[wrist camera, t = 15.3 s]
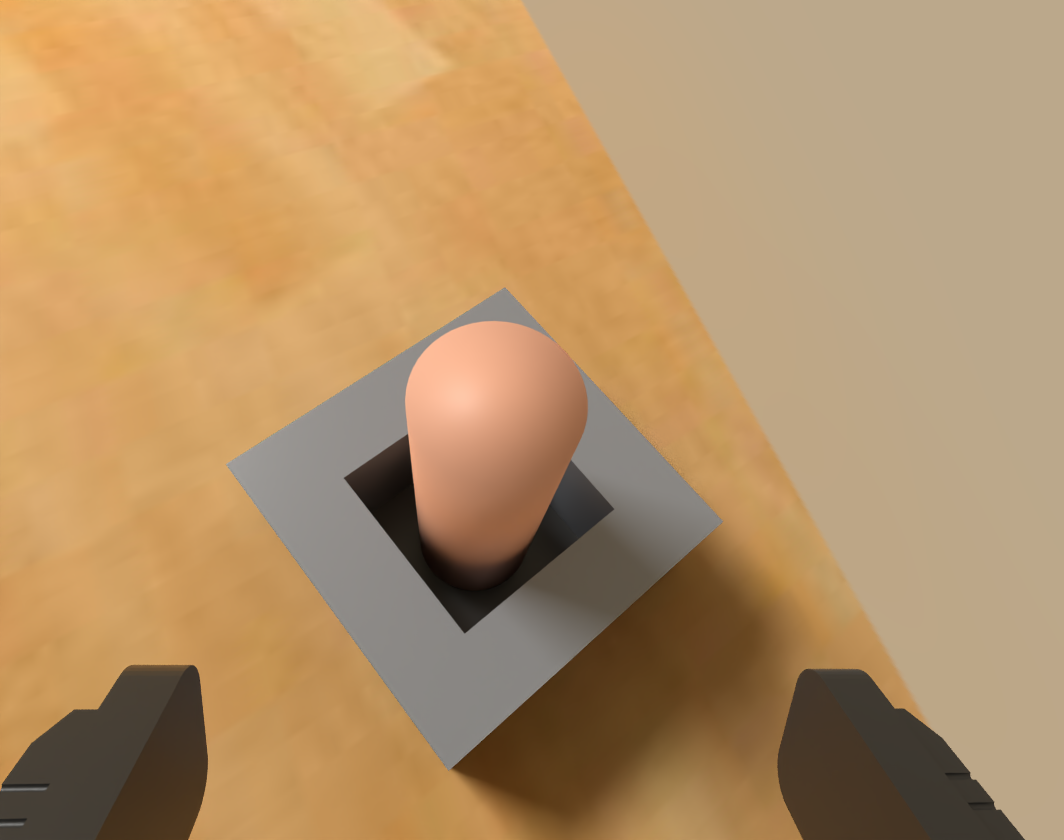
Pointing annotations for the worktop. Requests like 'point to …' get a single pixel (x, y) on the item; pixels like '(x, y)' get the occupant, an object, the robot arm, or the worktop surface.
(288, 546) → the socket block
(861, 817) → the robot arm
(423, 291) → the worktop surface
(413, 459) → the peg
